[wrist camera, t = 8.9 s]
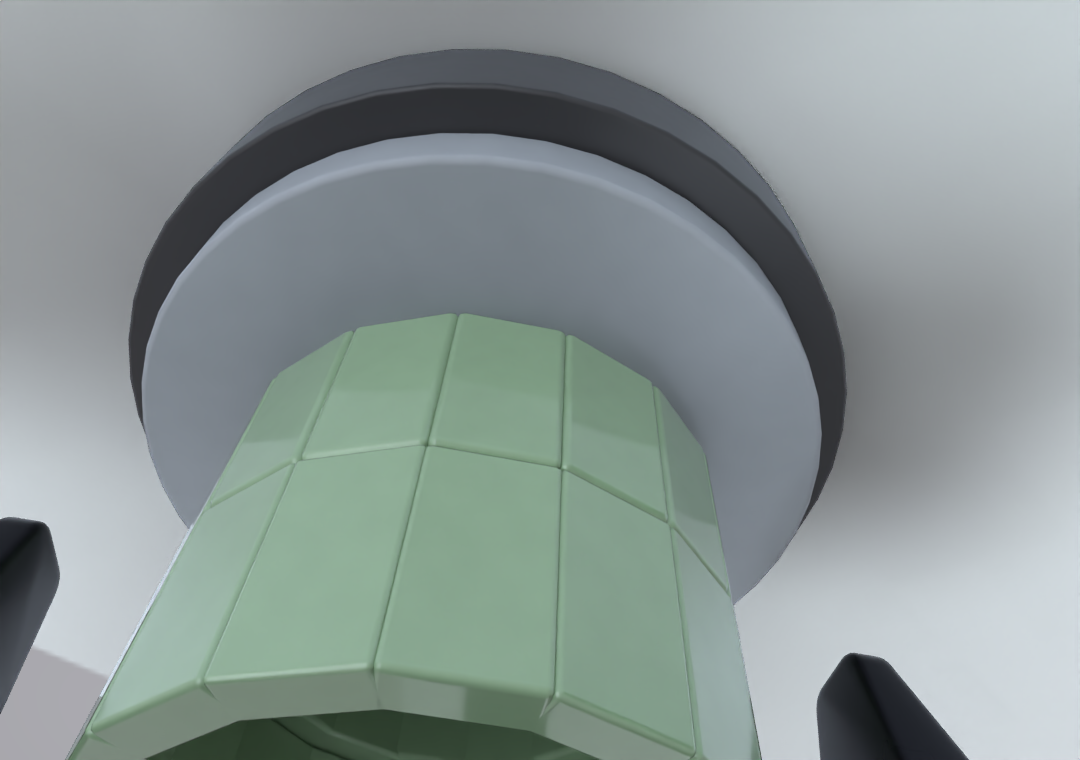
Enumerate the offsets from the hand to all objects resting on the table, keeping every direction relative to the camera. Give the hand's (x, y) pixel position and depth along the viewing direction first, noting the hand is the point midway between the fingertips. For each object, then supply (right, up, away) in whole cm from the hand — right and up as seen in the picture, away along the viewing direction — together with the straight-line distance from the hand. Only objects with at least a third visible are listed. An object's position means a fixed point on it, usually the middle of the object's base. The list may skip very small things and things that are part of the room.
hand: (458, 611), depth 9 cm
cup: (0, +1, +2) cm, 2 cm away
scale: (0, +3, +4) cm, 4 cm away
